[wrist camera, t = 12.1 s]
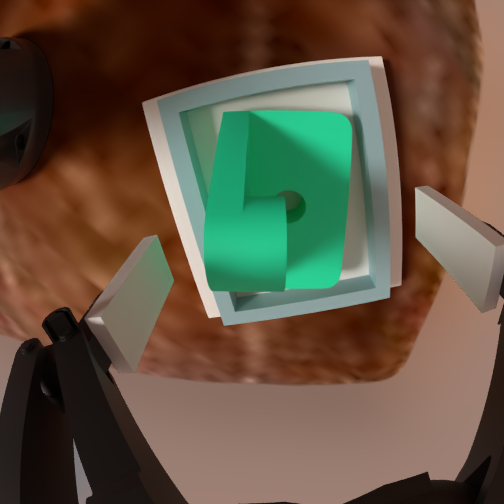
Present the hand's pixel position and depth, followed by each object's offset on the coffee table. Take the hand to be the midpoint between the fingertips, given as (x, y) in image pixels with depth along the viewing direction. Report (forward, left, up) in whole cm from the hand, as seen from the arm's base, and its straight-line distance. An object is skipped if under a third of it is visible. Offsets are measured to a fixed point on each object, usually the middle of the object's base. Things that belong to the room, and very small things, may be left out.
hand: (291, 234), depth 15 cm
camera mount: (0, 0, -8) cm, 8 cm away
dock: (0, 0, -9) cm, 9 cm away
